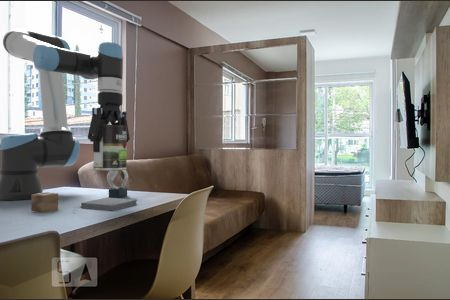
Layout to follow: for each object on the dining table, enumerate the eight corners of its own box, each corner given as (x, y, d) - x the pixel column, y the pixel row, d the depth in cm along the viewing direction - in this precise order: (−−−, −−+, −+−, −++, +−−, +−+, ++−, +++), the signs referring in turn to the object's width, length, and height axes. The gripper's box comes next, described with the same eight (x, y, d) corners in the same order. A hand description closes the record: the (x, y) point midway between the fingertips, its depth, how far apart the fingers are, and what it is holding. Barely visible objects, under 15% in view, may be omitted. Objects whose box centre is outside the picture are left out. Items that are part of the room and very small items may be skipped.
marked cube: (31, 211, 103) (31, 193, 102) (45, 208, 107) (45, 191, 107) (44, 213, 101) (44, 194, 101) (58, 210, 105) (58, 192, 105)
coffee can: (132, 168, 117) (132, 126, 116) (116, 171, 106) (117, 124, 106) (104, 168, 119) (104, 126, 118) (86, 170, 109) (86, 124, 108)
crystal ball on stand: (112, 195, 136) (113, 166, 136) (131, 196, 134) (131, 167, 134) (104, 197, 131) (104, 167, 131) (122, 198, 128) (123, 168, 128)
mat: (81, 207, 109) (81, 202, 109) (106, 201, 121) (106, 197, 120) (112, 210, 105) (112, 205, 105) (136, 204, 116) (136, 199, 116)
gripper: (94, 86, 100) (94, 164, 101) (140, 96, 121) (140, 161, 122) (74, 87, 103) (74, 163, 103) (122, 97, 124) (122, 160, 124)
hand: (110, 162), depth 112 cm, fingers closed on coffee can, 10 cm apart
